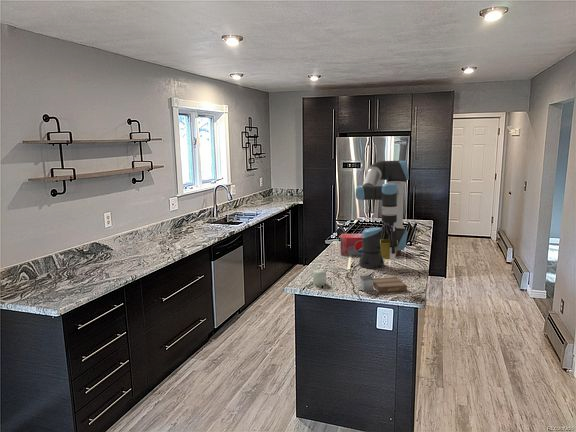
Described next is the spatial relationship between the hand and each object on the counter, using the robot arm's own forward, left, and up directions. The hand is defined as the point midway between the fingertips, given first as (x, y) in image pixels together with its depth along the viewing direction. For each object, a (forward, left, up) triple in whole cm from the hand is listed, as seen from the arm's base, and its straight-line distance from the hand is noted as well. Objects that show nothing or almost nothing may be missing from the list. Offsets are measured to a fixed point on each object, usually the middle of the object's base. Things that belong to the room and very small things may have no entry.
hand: (388, 256), depth 215 cm
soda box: (-70, +12, -17) cm, 73 cm away
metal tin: (+1, -12, -17) cm, 21 cm away
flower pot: (0, 0, -1) cm, 1 cm away
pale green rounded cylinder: (-13, -34, -17) cm, 40 cm away
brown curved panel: (0, 0, -17) cm, 17 cm away
